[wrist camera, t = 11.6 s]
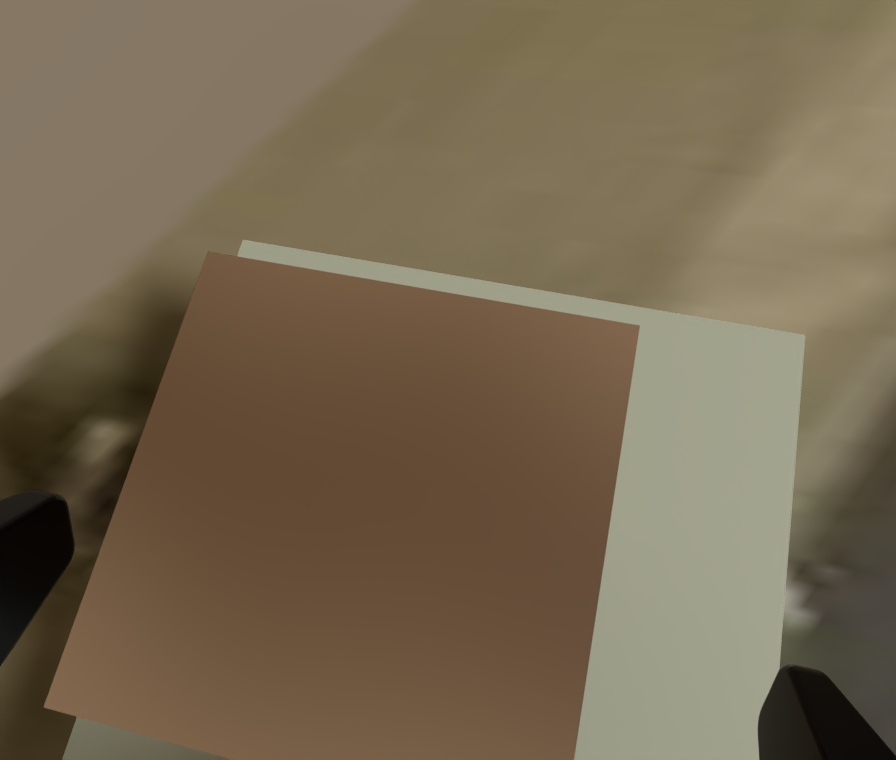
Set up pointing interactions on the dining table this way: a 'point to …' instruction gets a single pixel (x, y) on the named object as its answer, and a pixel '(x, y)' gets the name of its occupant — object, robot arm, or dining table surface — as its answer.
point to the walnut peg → (358, 526)
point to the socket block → (651, 531)
